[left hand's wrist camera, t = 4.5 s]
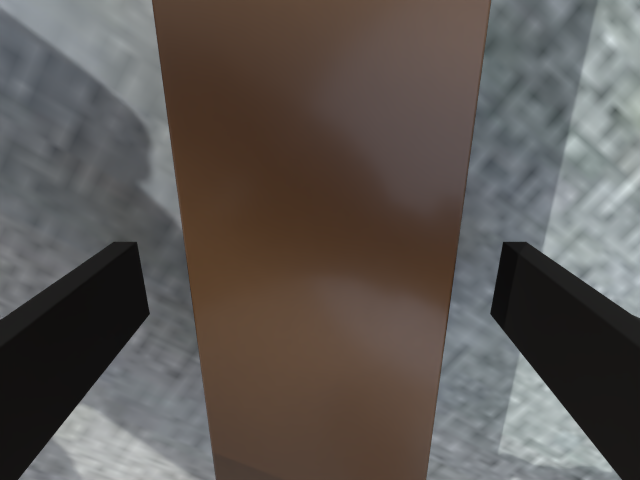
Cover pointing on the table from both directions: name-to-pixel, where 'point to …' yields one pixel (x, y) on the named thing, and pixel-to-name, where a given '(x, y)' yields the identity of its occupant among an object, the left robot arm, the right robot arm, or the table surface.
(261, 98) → the post
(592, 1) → the table surface
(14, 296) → the table surface
